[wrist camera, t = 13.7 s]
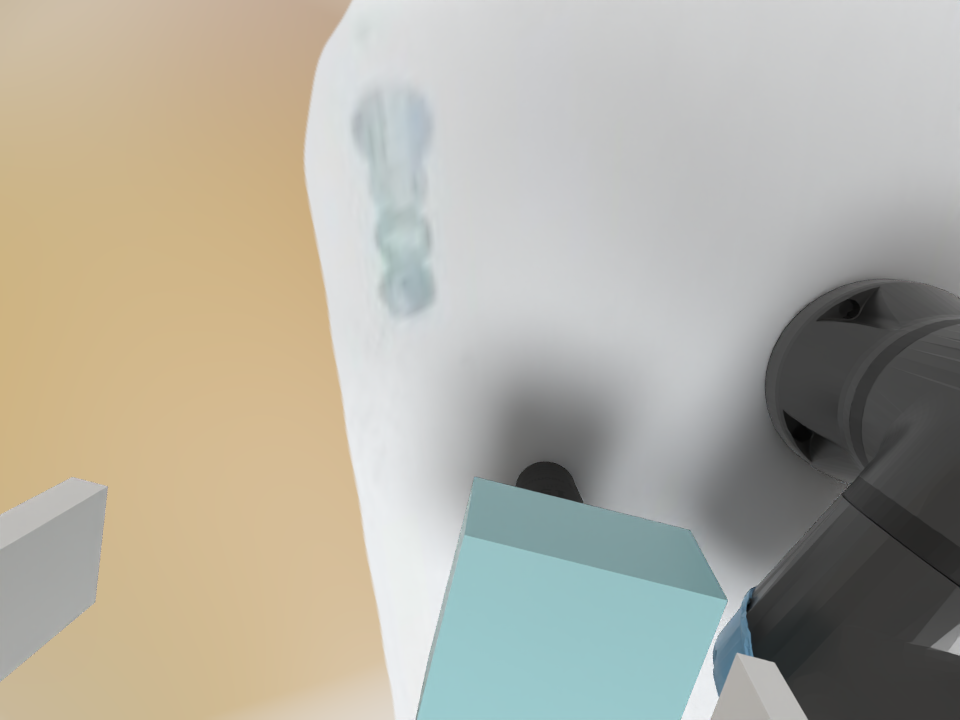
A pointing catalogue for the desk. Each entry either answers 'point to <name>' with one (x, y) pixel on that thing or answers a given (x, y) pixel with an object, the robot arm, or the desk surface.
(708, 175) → the desk surface
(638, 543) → the cover cap
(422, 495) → the desk surface
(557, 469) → the drinking cup
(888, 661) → the robot arm
